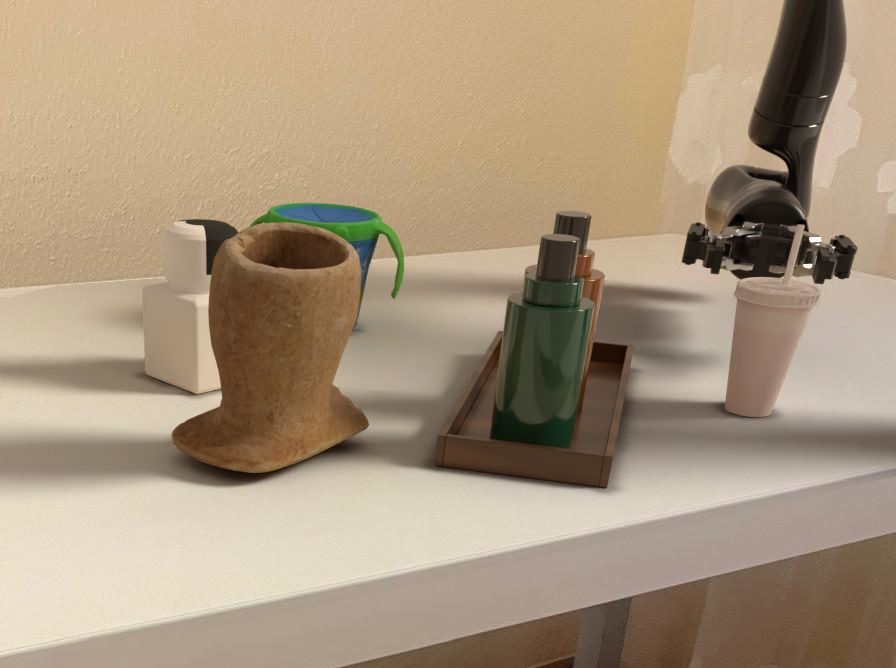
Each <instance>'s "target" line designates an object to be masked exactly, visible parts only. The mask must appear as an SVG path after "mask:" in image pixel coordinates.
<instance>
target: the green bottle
mask: <svg viewBox="0 0 896 668" xmlns="http://www.w3.org/2000/svg"><path fill="white" fill-rule="evenodd" d="M579 244H580V239H579V238H578V237H575V236H571V235H564V234H553V233H547V234H543V235H541V236H540V239H539V247H538V248H539V249H538V256H537V263H536V264H537V269H536V272H531V273H528V274H526V275H525V280H524V279H523V280H524V288H523V292H522V291H517V292H514V293H511V294H509V295H508V296H507V298H506V306H505V314H504V322H503V330H502V331H503V336H502V344H501V352H500V359H499V367H498V375H497V383H496V390H495V398H494V406H493V414H492V421H491V429H490V437H489V439H492V440H500V441H508V442H516V443H524V444H532V445H541V446H549V447H557V448H565V449H571V444H572V438H573V432H574V426H575V421H576V415H577V409H578V403H579V397H580V391H581V385H582V379H583V373H584V368H585V362H586V356H587V350H588V344H589V338H590V332H591V326H592V321H593V315H594V309H595V303H594V302H593V301H592V300H590V299H588V298H585V297H582V291H583V285H584V279H583V278H582V277H580V276H577V275H575V269H576V263H577V256H578V250H579Z"/></svg>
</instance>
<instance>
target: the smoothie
mask: <svg viewBox="0 0 896 668" xmlns="http://www.w3.org/2000/svg"><path fill="white" fill-rule="evenodd" d="M804 227H805V225H800V224H799V225H797V228H796V231H795V235H794V239H793V243H792V247H791V251H790V255H789V259H788V263H787V267H786V271H785V275H784V276H783V277H782V278H772V277H752V278H744V279H741V280H740V279H739V280H738V281H737V282H736V287H735V291H734V292H733V296H734V298H736V306H735V314H734V322H733V323H734V324H733V331H732V339H731V348H730V356H729V357H730V358H729V365H728V366H729V367H728V375H727V383H726V393H725V401H724V409H725V410H726V412H728V413H731V414H734V415H737V416H742V417H747V418H748V417H749V418H764V417H768V416H770V415H771V414H772V412H773V409H774V407H775V404H776V402H777V398H778V396H779V394H780V391H781V389H782V386H783V384H784V382H785V379H786V376H787V374H788V371H789V369H790V366H791V364H792V362H793V358H794V356H795V354H796V351H797V348H798V346H799V343H800V341H801V339H802V336H803V333H804V330H805V329H806V326H807V324H808V320H809V318H810V315H811V313H812V310H813V308H814V307H816V306H818V305H819V304H820V302H819V300H820V296H821V293H822V290H821V289H820V288H819V287H818V286H816V285H814V284H811V283H808V282H805V281H800V280H795V279H792V278H793V276H792V273H793V269H794V266H795V262H796V258H797V254H798V250H799V246H800V242H801V238H802V234H803V231H804Z"/></svg>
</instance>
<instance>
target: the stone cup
mask: <svg viewBox="0 0 896 668" xmlns="http://www.w3.org/2000/svg"><path fill="white" fill-rule="evenodd" d="M238 232H239V233H238V234H236V235H235V236H233V237H232V238H230V239H226V240H225V241H224V242H223V243H222V245H221V246H220V248H219V250H218V251H217V253H216V256H215V258H214V262H213V267H212V272H211V281H210V291H209V306H208V318H209V331H210V338H211V346H212V349H213V353H214V356H215V360H216V364H217V367H218V372H219V377H220V384H221V389H220V392H221V400H220V404H219V406H217V407H214V408H212V409H210V410H207V411H205V412H203V413H200V414H197V415H195V416H193V417H190V418H188V419H186V420H185V421H184V422H183V421H182V423H181V422H180V424H178V425H176V427H175V428H174V429H173V430H172V431H171V440H172V443H173V445H174V446H175V448H176V449H178V450H180V451H181V453H184V454H185V455H187V456H189V457H190V458H193V459H195V460H196V461H199V462H202V463H205V464H207V465H209V466H213V467H218V468H221V469H225V470H231V471H235V472H243V473H249V474H256V473H259V474H261V473H268V472H273V471H277V470H280V469H283V468H286V467H289V466H292V465H295V464H297V463H299V462H302V461H305V460H306V459H309V458H311V457H314V456H316V455H318V454H320V453H322V452H324V451H325V450H328V449H330V448H332V447H334V446H336V445H338V444H340V443H342V442H344V441H346V440H348V439H350V438H352V437H354V436H356V435H358V434H360V433H362V432H363V431H365V430H367V429H368V427H369V426H370V421H369V419H368V417H367V416H366V415H365V414H364V412H363V410H362V409H361V408H360V407H357V405H356V404H355V403H354V402H353V401H352V400H351V399H350V398H349V397H348V396H347V395H345V394H343V393H342V392H341V390H340V388H339V387H338V386H336V385H335V384H334V381H335V377H336V375H337V372H338V368H339V366H340V363H341V360H342V358H343V355H344V352H345V350H346V347H347V344H348V341H349V339H350V337H351V334H352V332H353V330H354V328H353V327H354V324H355V321H356V317H357V313H358V309H359V299H360V285H361V265H360V259H359V255H358V254H357V252H356V251H355V249H354V247H353V246H352V245H351V244H350V243H348V242H347V241H346V240H345V239H343V238H341V237H340V236H338V235H336V234H334V233H332V232H330V231H328V230H325V229H322V228H319V227H314V226H309V225H305V224H299V223H289V222H285V223H264V222H263V223H260V224H257V225H254V226H251V227H249V226H248V227H245V228H244V229H242V230H240V231H238Z"/></svg>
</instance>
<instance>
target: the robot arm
mask: <svg viewBox="0 0 896 668" xmlns="http://www.w3.org/2000/svg"><path fill="white" fill-rule="evenodd" d="M846 20H847V19H846V11H845V5H844V0H783V1H782V7H781V11H780V17H779V21H778V25H777V30H776V34H775V37H774V41H773V45H772V49H771V52H770V55H769V58H768V61H767V64H766V68H765V71H764V74H763V77H762V80H761V83H760V86H759V90H758V92H757V96H756V99H755V102H754V105H753V108H752V111H751V115H750V118H749V122H748V127H747V135H748V138H749V140H750V142H751V143H752V144H753V145H755V146H756V147H757V148H759V149H761V150H763V151H764V152H767V153H769V154H771V155H773V156H775V157H777V158H778V159H780V160H782V161H783V162H784V164H785V166H786V168H787V171H782V170H776V169H770V168H766V167H757V166H753V165H748V164H734V165H733V164H732V165H731V166H727V167H726V168H724V169H723V170H722V171H721V172H720V173H719V174H718V175H717V176H716V178H715V179H714V181H712V184H711V186H710V188H709V190H708V193H707V196H706V200H705V204H704V219H705V220H704V222H705V224H703V223H702V222H700V221H697V222H695V223H693V222H692V223H691V224H690V227H689V228H688V231H687V233H686V239H685V243H684V247H683V253H682V257H681V263H682V264H684V265H686V266H691V265H695V264H696V262H697V260H699V261H702V263H701V266H702V267H703V268H705V269H709V270H710V271H709V272H710V275H720V271H721V270H723V271H727V272H730V273H731V275H733V276H734V277H735V278H736V279H739V280H741V279H744V278H752V277H772V278H784V275H785V271H786V267H787V263H788V259H789V255H790V251H791V247H792V243H793V239H794V235H795V231H796V228H797V225H799V224H800V225H805V227H804V231H803V234H802V238H801V242H800V246H799V250H798V254H797V258H796V262H795V266H794V269H793V273H792V277H795V278H808V277H810V276H811V277H812V281H813V285H814V284H815V285H824V283H825V281H826V280H833V278H834V277H835V278H837V279H838V280H845V279H850V276H851V270H852V267H853V263H854V259H855V256H856V255H857V252H858V246H857V245H856V244H855V242H853V240H852V239H851V238H850V237H848V236H846V235H845V234H839V235H834V237H831V238H830V241H829V243H825V242H822V239H821V236H820V235H819V234H817V233H814V232H810V227H809V222H808V220H809V217H810V212H811V204H812V193H813V179H814V178H813V176H814V167H815V159H816V153H817V149H818V144H819V140H820V136H821V133H822V129H823V127H824V123H825V120H826V118H827V116H828V112H829V109H830V107H831V104H832V101H833V99H834V96H835V93H836V90H837V87H838V84H839V82H840V79H841V75H842V72H843V69H844V64H845V59H846V54H847V46H848V45H847V44H848V43H847V41H848V34H847V21H846Z"/></svg>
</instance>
